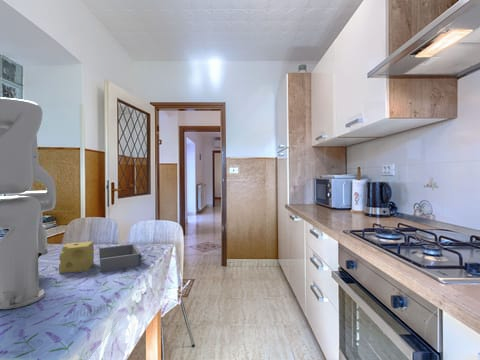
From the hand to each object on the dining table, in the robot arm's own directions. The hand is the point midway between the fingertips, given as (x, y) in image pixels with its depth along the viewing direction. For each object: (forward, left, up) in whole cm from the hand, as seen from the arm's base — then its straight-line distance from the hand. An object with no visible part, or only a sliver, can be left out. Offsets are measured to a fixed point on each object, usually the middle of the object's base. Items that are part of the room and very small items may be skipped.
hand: (31, 270), depth 105 cm
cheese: (0, -15, -2) cm, 16 cm away
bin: (0, -30, -2) cm, 30 cm away
